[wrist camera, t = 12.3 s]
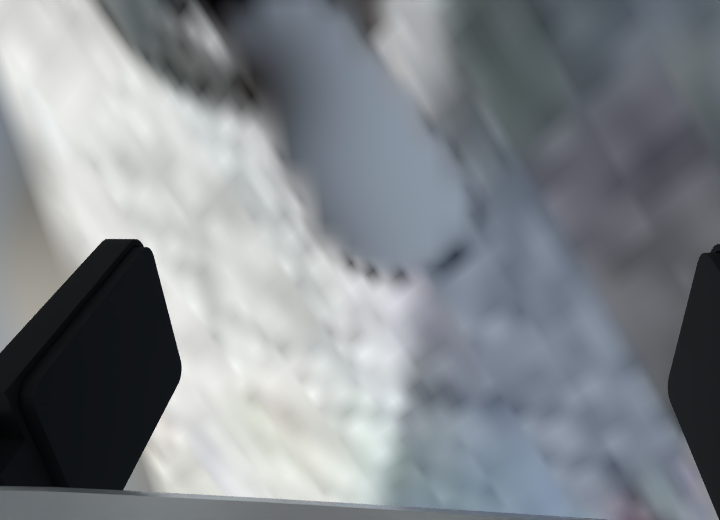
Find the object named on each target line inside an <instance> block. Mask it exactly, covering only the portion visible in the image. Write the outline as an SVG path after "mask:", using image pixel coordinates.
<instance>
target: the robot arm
mask: <svg viewBox="0 0 720 520" xmlns="http://www.w3.org/2000/svg"><path fill="white" fill-rule="evenodd" d="M180 377H181V360H180V356H179V352H178V349H177V345H176V341H175V337H174V333H173V329H172V325H171V321H170V318H169V314H168V310H167V306H166V302H165V298H164V294H163V290H162V287H161V283H160V279H159V275H158V271H157V267H156V263H155V259H154V256H153V253H152V251H151V249H150V248H148V247H144V246H143V244H142V243H141V242H140V241H139V240H137V239H105V240H104V241H103V242H101V244H100V245H99V246H98V247H97V248H96V249H95V250H94V251H93V252H92V253H91V254H90V256H89V257H88V258H87V259H86V260H85V261H84V262H83V263H82V264H81V265H80V266H79V268H78V269H77V270H76V271H75V272H74V273H73V274H72V275H71V276H70V277H69V278H68V280H67V281H66V282H65V283H64V284H63V285H62V286H61V287H60V288H59V289H58V290H57V292H56V293H55V294H54V295H53V296H52V297H51V298H50V299H49V300H48V301H47V303H46V304H45V305H44V306H43V307H42V308H41V309H40V310H39V311H38V312H37V314H36V315H35V316H34V317H33V318H32V319H31V320H30V321H29V322H28V323H27V324H26V325H25V327H24V328H23V329H22V330H21V331H20V332H19V333H18V334H17V335H16V336H15V337H14V339H13V340H12V341H11V342H10V343H9V344H8V345H7V346H6V347H5V348H4V350H3V351H2V352H1V353H0V520H605V519H590V518H575V517H560V516H545V515H530V514H515V513H499V512H484V511H469V510H452V509H436V508H420V507H404V506H387V505H371V504H354V503H338V502H321V501H304V500H287V499H270V498H252V497H234V496H216V495H198V494H179V493H161V492H142V491H124V490H123V489H124V487H125V485H126V483H127V481H128V479H129V478H130V475H131V474H132V472H133V470H134V468H135V466H136V464H137V462H138V460H139V458H140V456H141V454H142V452H143V451H144V449H145V447H146V445H147V443H148V441H149V439H150V437H151V435H152V433H153V431H154V429H155V427H156V426H157V424H158V422H159V420H160V418H161V416H162V414H163V412H164V410H165V408H166V406H167V404H168V402H169V400H170V399H171V397H172V395H173V393H174V391H175V389H176V387H177V385H178V383H179V381H180ZM668 394H669V399H670V402H671V404H672V407H673V409H674V412H675V414H676V416H677V419H678V421H679V424H680V426H681V428H682V431H683V433H684V436H685V438H686V441H687V443H688V445H689V448H690V450H691V453H692V455H693V457H694V460H695V462H696V465H697V467H698V470H699V472H700V474H701V477H702V479H703V482H704V484H705V486H706V489H707V491H708V494H709V496H710V499H711V501H712V503H713V506H714V508H715V511H716V513H717V515H718V518H719V520H720V244H717V245H715V246H714V247H713V249H712V250H711V253H703V254H701V256H700V257H699V260H698V263H697V267H696V271H695V275H694V279H693V283H692V287H691V291H690V295H689V299H688V303H687V307H686V311H685V315H684V319H683V323H682V327H681V331H680V335H679V339H678V343H677V347H676V351H675V355H674V359H673V363H672V367H671V371H670V375H669V380H668Z"/></svg>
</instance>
